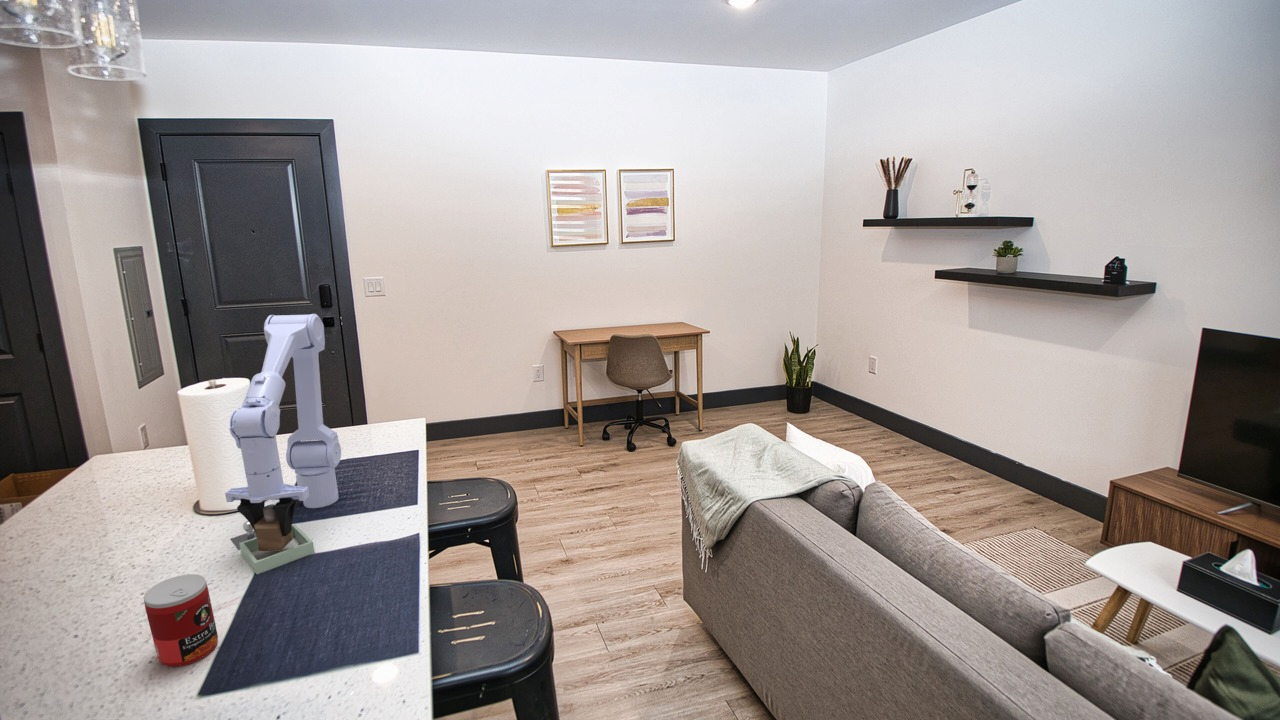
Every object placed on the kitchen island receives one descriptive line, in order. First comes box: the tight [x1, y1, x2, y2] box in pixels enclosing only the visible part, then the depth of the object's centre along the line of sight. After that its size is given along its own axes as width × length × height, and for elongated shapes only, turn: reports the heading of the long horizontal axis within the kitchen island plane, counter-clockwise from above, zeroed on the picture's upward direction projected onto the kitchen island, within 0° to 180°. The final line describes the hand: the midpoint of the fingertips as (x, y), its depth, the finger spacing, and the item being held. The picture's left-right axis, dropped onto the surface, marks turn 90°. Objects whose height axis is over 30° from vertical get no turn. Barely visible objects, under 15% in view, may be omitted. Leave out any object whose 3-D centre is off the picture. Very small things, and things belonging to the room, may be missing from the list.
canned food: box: [143, 573, 219, 668], centre depth 96 cm, size 8×8×11 cm
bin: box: [239, 523, 315, 575], centre depth 121 cm, size 10×10×4 cm
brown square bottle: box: [254, 504, 294, 552], centre depth 120 cm, size 4×4×8 cm
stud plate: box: [229, 520, 256, 551], centre depth 126 cm, size 6×6×5 cm
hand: (274, 533), depth 120 cm, fingers closed on brown square bottle, 4 cm apart
